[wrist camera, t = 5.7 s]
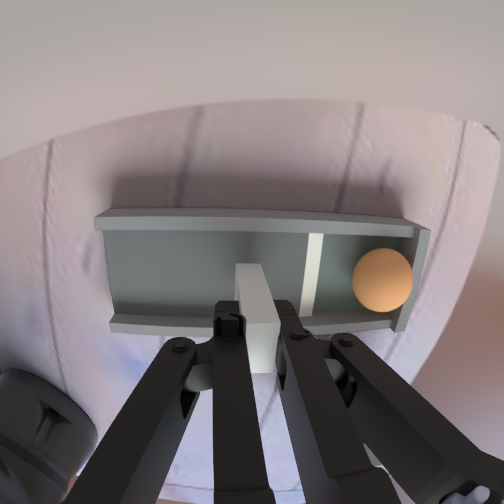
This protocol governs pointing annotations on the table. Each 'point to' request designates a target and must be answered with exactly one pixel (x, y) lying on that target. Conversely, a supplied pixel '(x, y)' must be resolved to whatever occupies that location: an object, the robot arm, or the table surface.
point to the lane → (247, 251)
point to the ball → (382, 280)
